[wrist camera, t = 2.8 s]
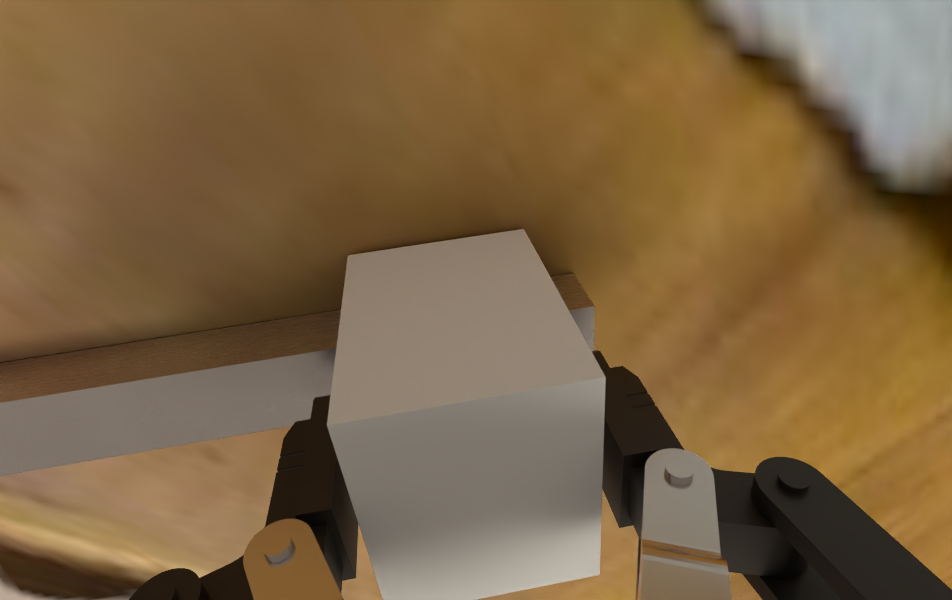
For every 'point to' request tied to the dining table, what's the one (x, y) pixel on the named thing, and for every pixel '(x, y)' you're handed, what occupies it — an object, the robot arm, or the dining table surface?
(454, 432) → the carriage
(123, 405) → the rail
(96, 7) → the dining table surface
